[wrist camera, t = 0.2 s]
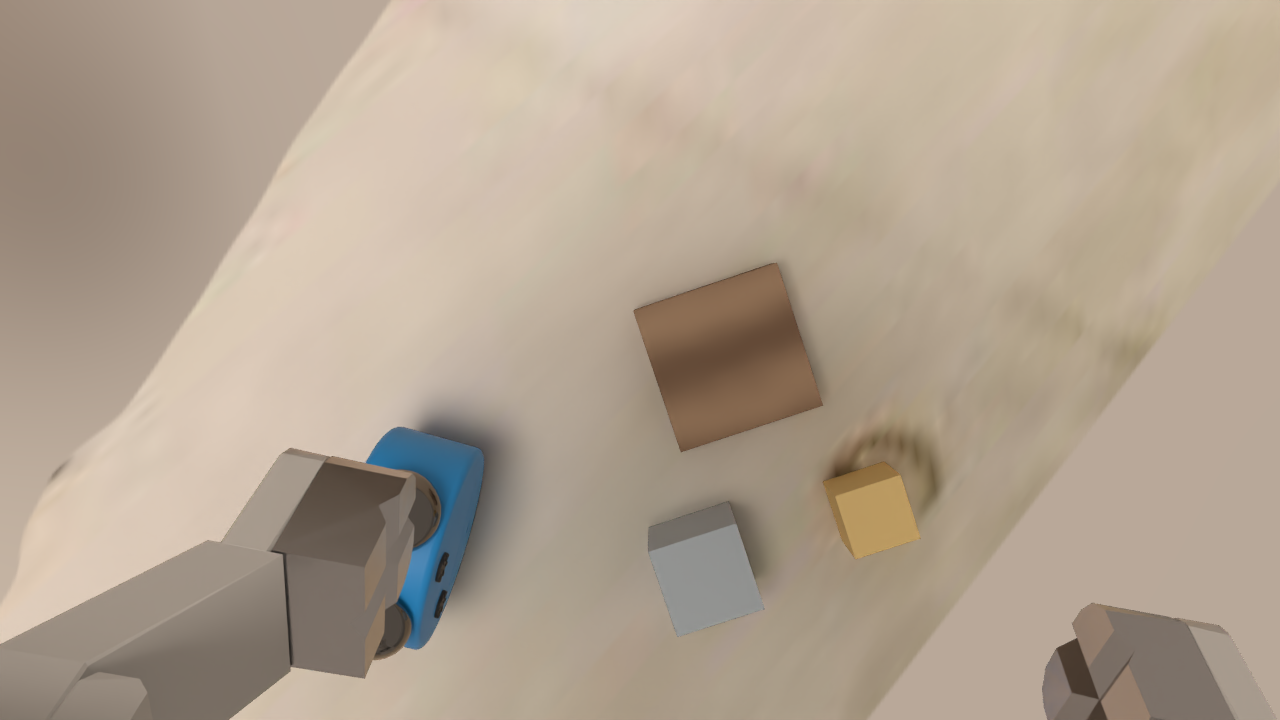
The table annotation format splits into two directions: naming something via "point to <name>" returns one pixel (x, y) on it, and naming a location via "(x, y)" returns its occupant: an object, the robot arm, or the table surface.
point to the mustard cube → (871, 509)
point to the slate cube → (703, 569)
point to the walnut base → (728, 357)
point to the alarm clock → (429, 528)
